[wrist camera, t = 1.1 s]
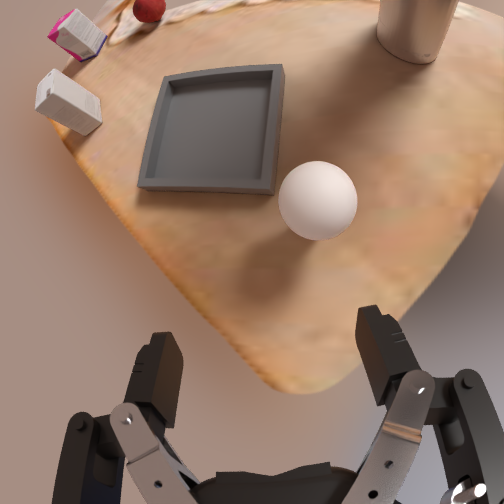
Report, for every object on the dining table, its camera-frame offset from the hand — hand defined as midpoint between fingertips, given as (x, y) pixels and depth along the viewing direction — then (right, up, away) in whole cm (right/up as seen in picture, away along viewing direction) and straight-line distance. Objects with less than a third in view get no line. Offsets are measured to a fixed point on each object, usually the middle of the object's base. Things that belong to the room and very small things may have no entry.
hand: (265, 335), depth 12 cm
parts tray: (-5, +18, +21) cm, 28 cm away
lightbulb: (+6, +7, +18) cm, 20 cm away
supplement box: (-33, +45, +30) cm, 63 cm away
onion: (-18, +46, +26) cm, 55 cm away
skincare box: (-27, +26, +27) cm, 46 cm away
